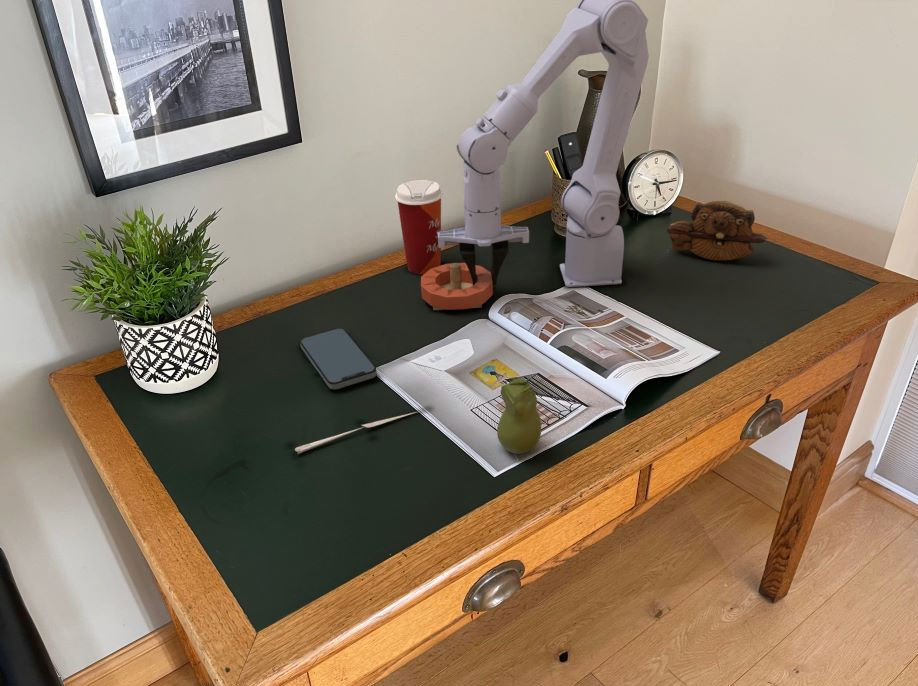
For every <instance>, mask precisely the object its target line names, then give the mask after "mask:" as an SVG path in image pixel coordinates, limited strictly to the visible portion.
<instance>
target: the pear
mask: <svg viewBox="0 0 918 686" xmlns="http://www.w3.org/2000/svg"><path fill="white" fill-rule="evenodd" d="M500 396H501V398H502V401H503V402H504V404H505V408H504V410H503V412H502V414H501V416H500V418H499V421H498V424H497V429H496V435H497V439H498V442H499V443H500V445H501V446H502V448H504V449H505V451H507V452H510V453H511V454H518V455H521V454H526V453H528V452H530V451H532V450H533V449H535V447H536V446H537V445H538V444H539V442H540V439H541V435H542V421H541V415H540V411H539V408H537V404H538V397H537V394H536V391H534V389H533V388H532V385H531V383H530V381H529V380H528V381H526V380H525V379H521V378H515V379H513V380H512V381H510V382H507V383H505V384H503V385H501V389H500Z"/></svg>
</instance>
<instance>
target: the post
mask: <svg viewBox="0 0 918 686" xmlns="http://www.w3.org/2000/svg"><path fill="white" fill-rule="evenodd" d="M459 263H460V262H452V263H449V264H450V281H451V282H450V283H447V284H444V285H441V286H440V287H441V288H445V289H450V290H458V289H465V288H468V287H471V286H473V284H470V283H466V282H461V265H460V264H459ZM481 308H483V304H480V305H477V306H475V307H472V308H471V309H481ZM432 310H433V311H445V310H447V309H442V308H438V307H434V306H432ZM447 311H448V310H447Z"/></svg>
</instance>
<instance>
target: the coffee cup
mask: <svg viewBox="0 0 918 686" xmlns="http://www.w3.org/2000/svg"><path fill="white" fill-rule="evenodd" d="M443 196H444V192H443V191H442V189H441V186H440V184H439V183H438V182H436V181H433V180H428V179H415V180H414V179H413V180H410V181H406V182H403V183H400V185H399V186H397V188H396V193H395V195H394V198H395V200H396V201H397V207H398V214H399V220H400V228H401V234H402V241H403V247H404V253H405V254H404V255H405V260H406V265H407V270H408V271H409V272H410V273H412V274H414V275H415V274H416V275H424V274H425V273H426V272H428V271H429V270H430V269H432V268H435V267H438V266H441V261H442V260H441V259H442V248H439V247H438V232H442V198H443Z"/></svg>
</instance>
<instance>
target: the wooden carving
mask: <svg viewBox="0 0 918 686" xmlns="http://www.w3.org/2000/svg"><path fill="white" fill-rule="evenodd" d="M690 217H691V220H692V221H688V220H678V221H676V222H672V223H670V224H669V226H668V227H667V229H666V233H667V234H669V239H670V240H671V247H672V248H671V249H673V250H676V251H686V250H689V251H691V252H692V253H693V254H694V255H696V256H698V257H700V258H703V259H706V260H711V261H721V262H722V261H734V260H737V259H741V258H745V257H747V256H749V255H751V254H754V252H755V250H756V248H755V247H754V246H752V244H763V243H764V242H765V241H766V240H767V239H768V237H767V236H766V235H765V234H763V233H759V232H758V233H757V232H754V231H753V228H752V227H753V225H754V223H755V220H756V218H755V212H754V210H753V209H749V210H747V209H746V208H745V207H743V206H742V205H739V204H736V203H733V202H731V201H728V200H727V201H726V200H713V201H708V202H705V203H702V202H700V201H698V202H697V203H696V205H695V206H694V208H693V209H692V212H691V215H690Z"/></svg>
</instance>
